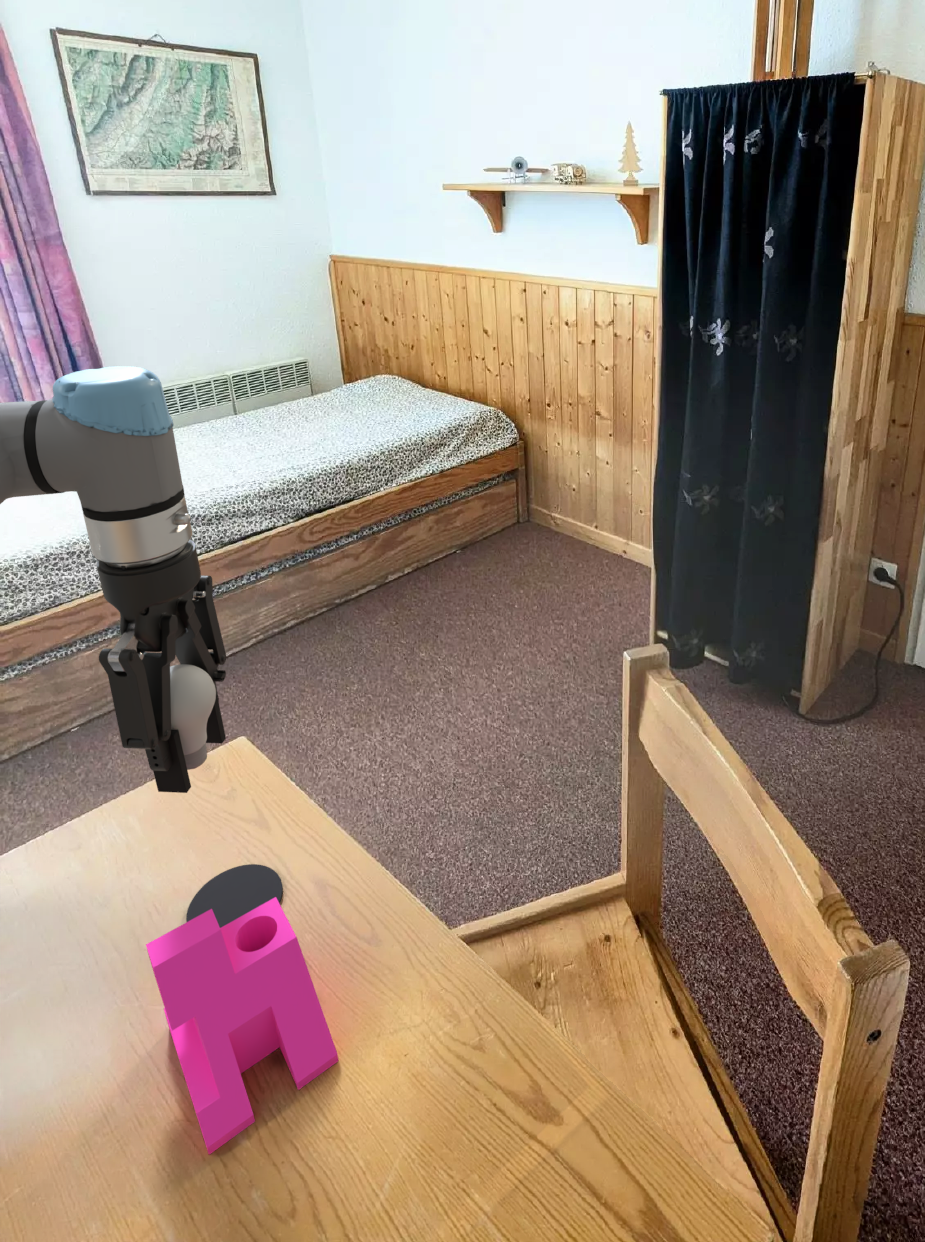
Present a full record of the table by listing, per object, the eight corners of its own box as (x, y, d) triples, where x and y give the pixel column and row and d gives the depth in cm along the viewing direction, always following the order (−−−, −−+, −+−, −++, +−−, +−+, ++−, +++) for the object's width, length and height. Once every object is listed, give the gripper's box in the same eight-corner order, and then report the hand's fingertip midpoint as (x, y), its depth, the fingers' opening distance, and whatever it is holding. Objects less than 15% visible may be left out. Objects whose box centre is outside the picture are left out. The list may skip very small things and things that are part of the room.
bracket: (169, 1028, 67) (145, 944, 64) (287, 956, 73) (271, 875, 70) (208, 1154, 59) (184, 1065, 55) (338, 1060, 65) (324, 975, 61)
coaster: (168, 942, 75) (167, 939, 74) (215, 864, 83) (215, 861, 83) (258, 948, 74) (257, 945, 74) (297, 869, 82) (296, 866, 82)
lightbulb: (242, 755, 76) (224, 660, 72) (189, 798, 70) (167, 699, 66) (198, 737, 78) (178, 645, 74) (143, 777, 73) (119, 680, 69)
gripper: (119, 607, 57) (177, 845, 65) (240, 505, 75) (274, 702, 83) (22, 604, 57) (91, 841, 65) (165, 503, 75) (206, 699, 83)
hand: (193, 763), depth 74 cm, fingers closed on lightbulb, 6 cm apart
